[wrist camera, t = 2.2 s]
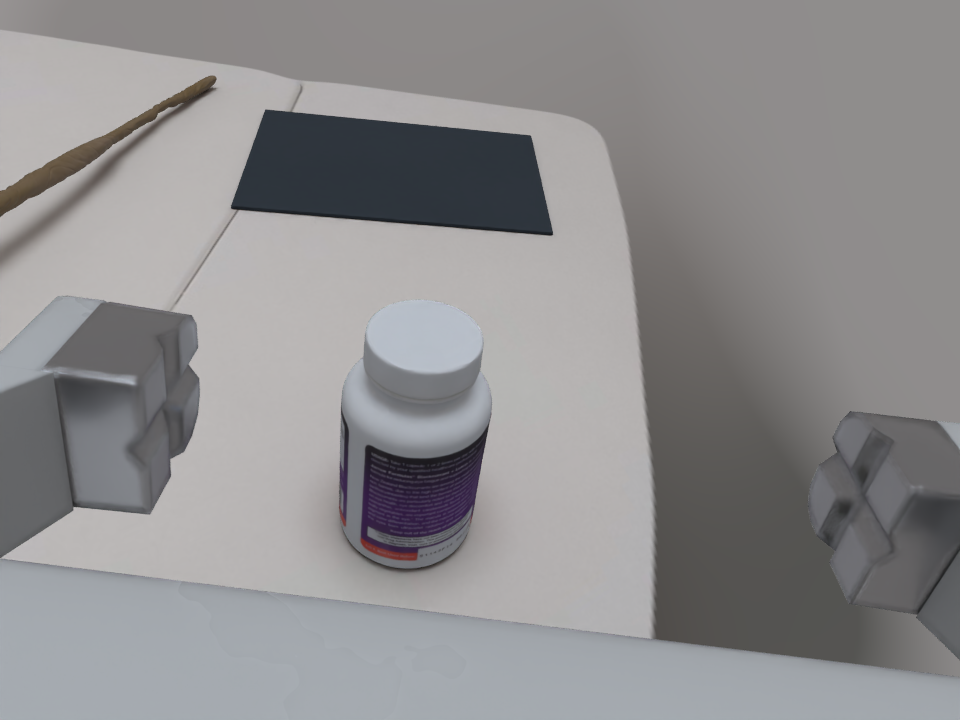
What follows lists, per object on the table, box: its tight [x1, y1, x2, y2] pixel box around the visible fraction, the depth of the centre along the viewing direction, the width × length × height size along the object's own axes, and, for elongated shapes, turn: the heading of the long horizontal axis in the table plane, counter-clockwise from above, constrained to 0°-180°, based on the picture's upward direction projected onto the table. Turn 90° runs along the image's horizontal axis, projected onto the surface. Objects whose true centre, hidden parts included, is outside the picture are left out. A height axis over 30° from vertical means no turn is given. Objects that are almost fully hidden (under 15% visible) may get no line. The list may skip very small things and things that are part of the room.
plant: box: [0, 76, 217, 217], centre depth 44 cm, size 39×8×8 cm, turn 161°
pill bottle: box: [339, 300, 492, 568], centre depth 30 cm, size 5×5×10 cm
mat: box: [231, 110, 553, 235], centre depth 56 cm, size 20×14×1 cm
